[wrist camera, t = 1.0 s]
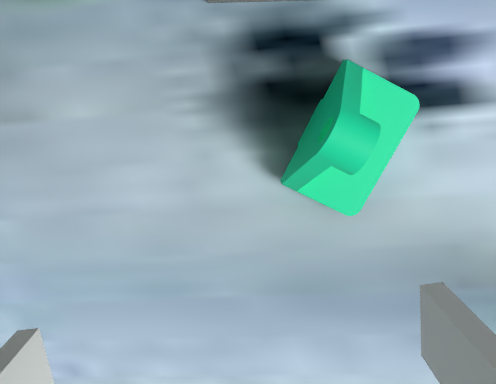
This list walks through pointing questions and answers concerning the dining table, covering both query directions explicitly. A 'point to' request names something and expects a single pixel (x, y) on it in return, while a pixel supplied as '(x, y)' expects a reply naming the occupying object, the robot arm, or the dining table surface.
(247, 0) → the display case
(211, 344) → the dining table surface
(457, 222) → the dining table surface
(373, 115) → the camera mount
